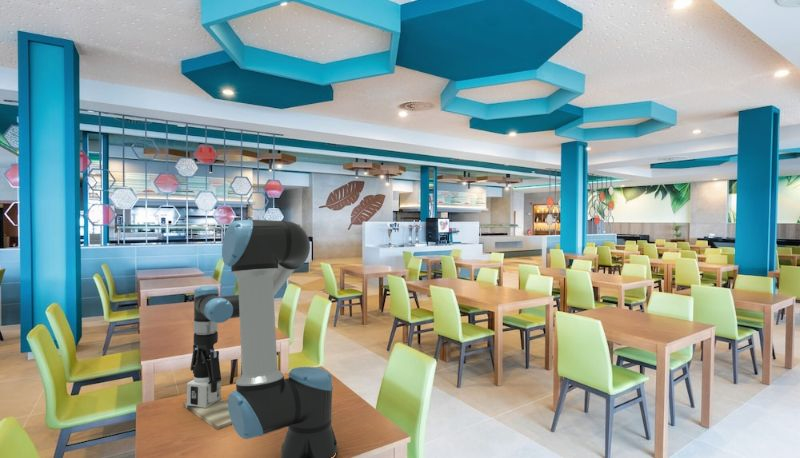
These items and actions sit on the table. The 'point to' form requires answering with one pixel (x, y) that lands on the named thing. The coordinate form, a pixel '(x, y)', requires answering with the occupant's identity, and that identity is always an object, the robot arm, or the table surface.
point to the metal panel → (213, 413)
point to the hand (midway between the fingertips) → (205, 396)
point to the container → (200, 388)
